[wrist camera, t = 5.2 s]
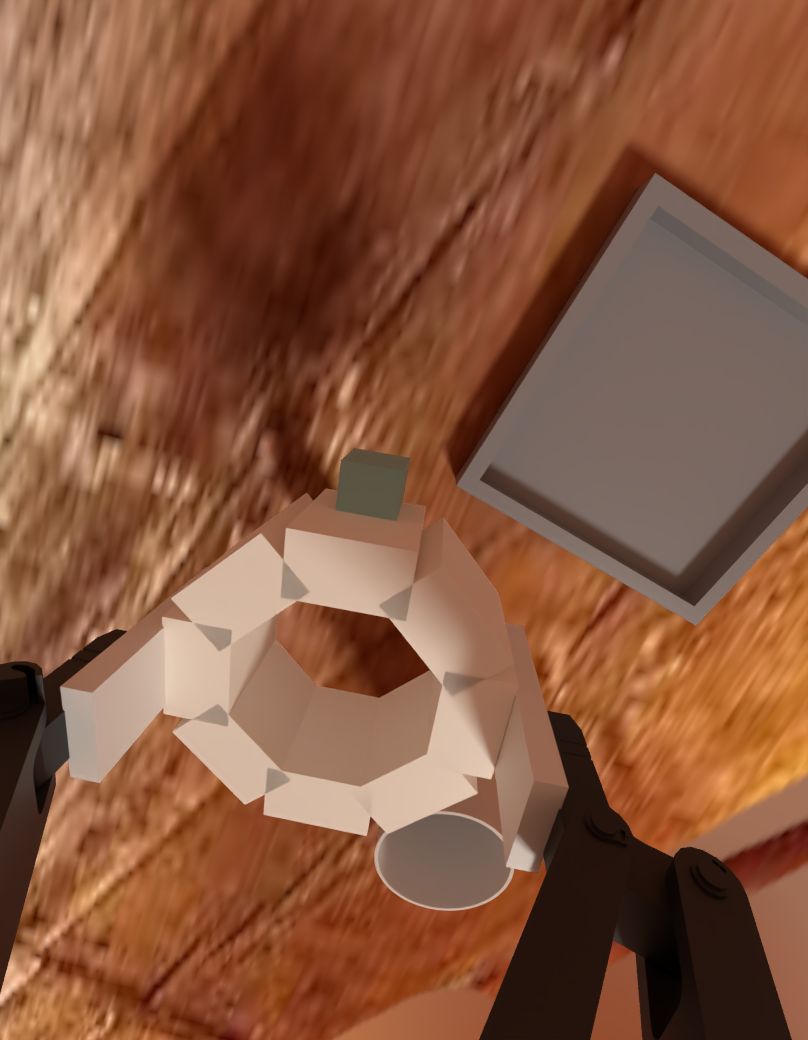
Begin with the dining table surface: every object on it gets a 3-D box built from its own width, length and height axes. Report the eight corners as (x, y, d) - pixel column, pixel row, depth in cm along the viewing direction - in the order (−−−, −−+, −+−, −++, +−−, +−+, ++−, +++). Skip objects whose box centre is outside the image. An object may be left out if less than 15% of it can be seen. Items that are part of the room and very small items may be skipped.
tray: (455, 478, 29) (456, 485, 28) (638, 188, 24) (655, 172, 22) (680, 609, 31) (696, 625, 29) (900, 368, 26) (936, 368, 24)
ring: (222, 707, 19) (165, 794, 15) (231, 426, 15) (158, 447, 11) (464, 756, 18) (468, 856, 15) (536, 480, 15) (566, 519, 11)
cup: (419, 674, 34) (411, 791, 25) (514, 717, 35) (541, 846, 26) (374, 748, 37) (352, 879, 28) (463, 787, 38) (472, 928, 28)
